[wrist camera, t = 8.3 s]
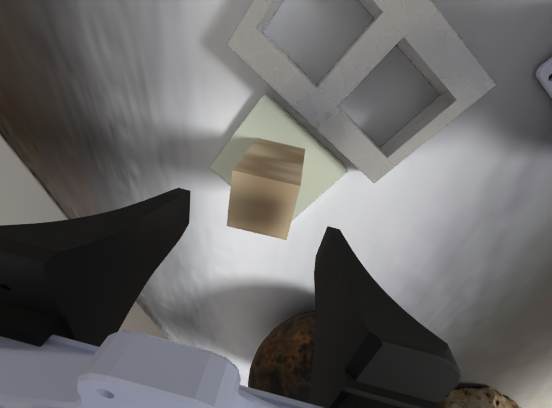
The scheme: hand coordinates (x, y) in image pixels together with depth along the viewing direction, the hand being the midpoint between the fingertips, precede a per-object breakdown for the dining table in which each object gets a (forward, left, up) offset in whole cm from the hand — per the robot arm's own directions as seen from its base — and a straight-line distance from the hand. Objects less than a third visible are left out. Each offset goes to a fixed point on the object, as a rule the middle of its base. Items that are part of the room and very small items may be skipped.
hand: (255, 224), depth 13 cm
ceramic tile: (0, +1, -10) cm, 10 cm away
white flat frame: (+1, -9, -10) cm, 14 cm away
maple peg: (0, +1, -10) cm, 10 cm away
